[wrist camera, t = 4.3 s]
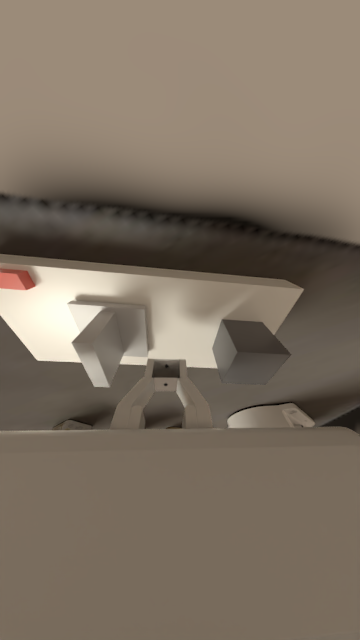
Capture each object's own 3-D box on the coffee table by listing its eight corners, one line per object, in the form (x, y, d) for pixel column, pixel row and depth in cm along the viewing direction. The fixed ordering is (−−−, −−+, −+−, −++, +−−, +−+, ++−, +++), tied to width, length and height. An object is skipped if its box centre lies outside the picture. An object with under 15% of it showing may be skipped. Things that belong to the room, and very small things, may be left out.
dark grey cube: (262, 321, 13) (291, 354, 9) (246, 350, 15) (265, 384, 12) (221, 319, 13) (237, 351, 9) (211, 348, 15) (221, 383, 12)
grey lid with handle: (145, 305, 11) (131, 340, 8) (148, 352, 15) (139, 391, 11) (71, 300, 11) (23, 333, 7) (92, 350, 14) (65, 388, 11)
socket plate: (284, 279, 13) (312, 293, 10) (243, 355, 19) (254, 375, 17) (-7, 253, 11) (-63, 261, 9) (53, 345, 17) (31, 366, 15)
